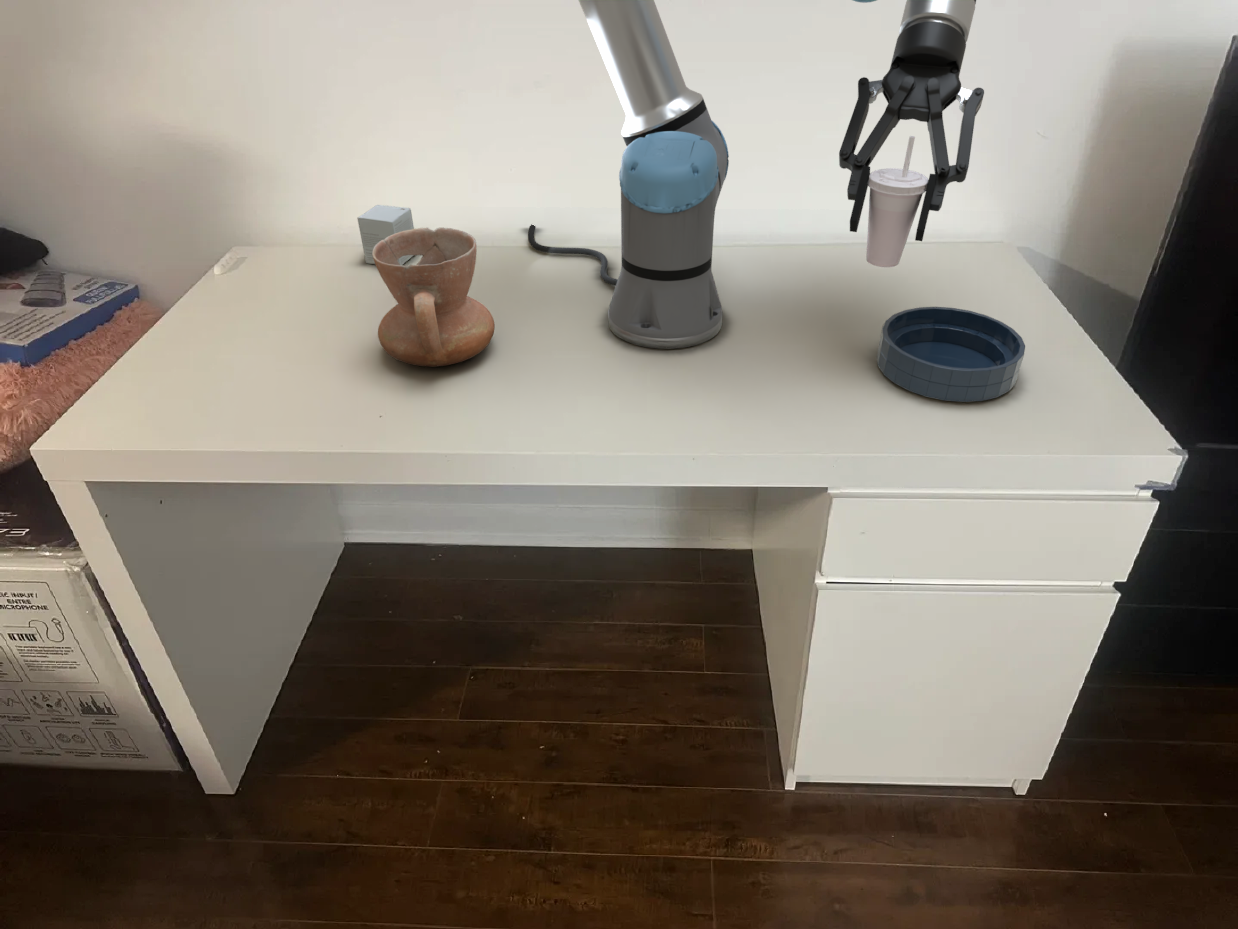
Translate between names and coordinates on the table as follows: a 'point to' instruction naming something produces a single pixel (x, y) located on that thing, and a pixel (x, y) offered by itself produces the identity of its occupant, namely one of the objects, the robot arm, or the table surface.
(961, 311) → the bowl
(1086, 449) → the table surface
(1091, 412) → the table surface
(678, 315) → the robot arm
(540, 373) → the table surface
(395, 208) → the product box
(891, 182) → the smoothie
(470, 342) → the ceramic jug
